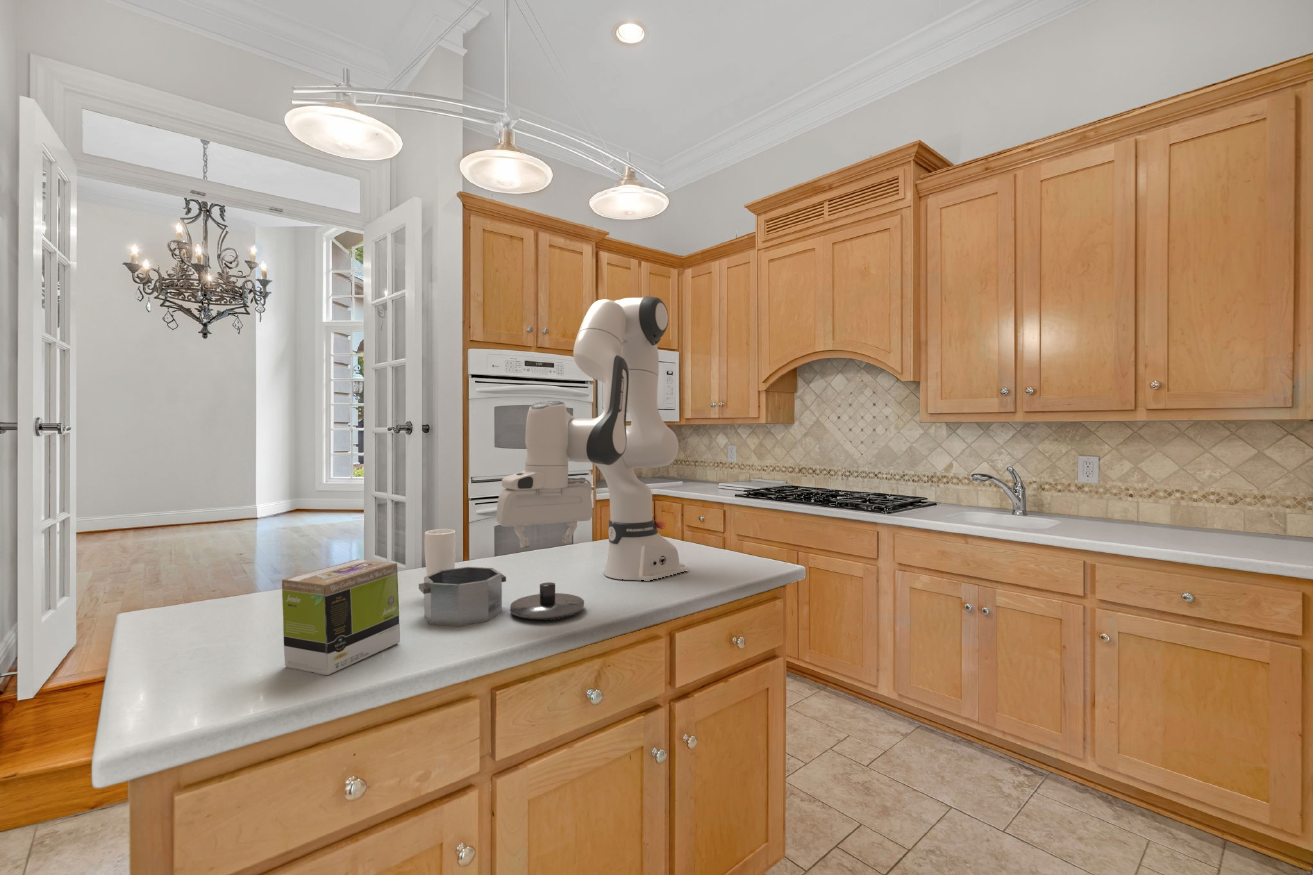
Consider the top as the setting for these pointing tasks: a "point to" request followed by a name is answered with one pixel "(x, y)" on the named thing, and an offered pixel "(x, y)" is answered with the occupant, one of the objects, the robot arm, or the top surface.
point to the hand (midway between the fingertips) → (546, 545)
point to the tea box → (340, 615)
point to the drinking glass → (439, 550)
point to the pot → (462, 595)
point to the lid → (547, 604)
